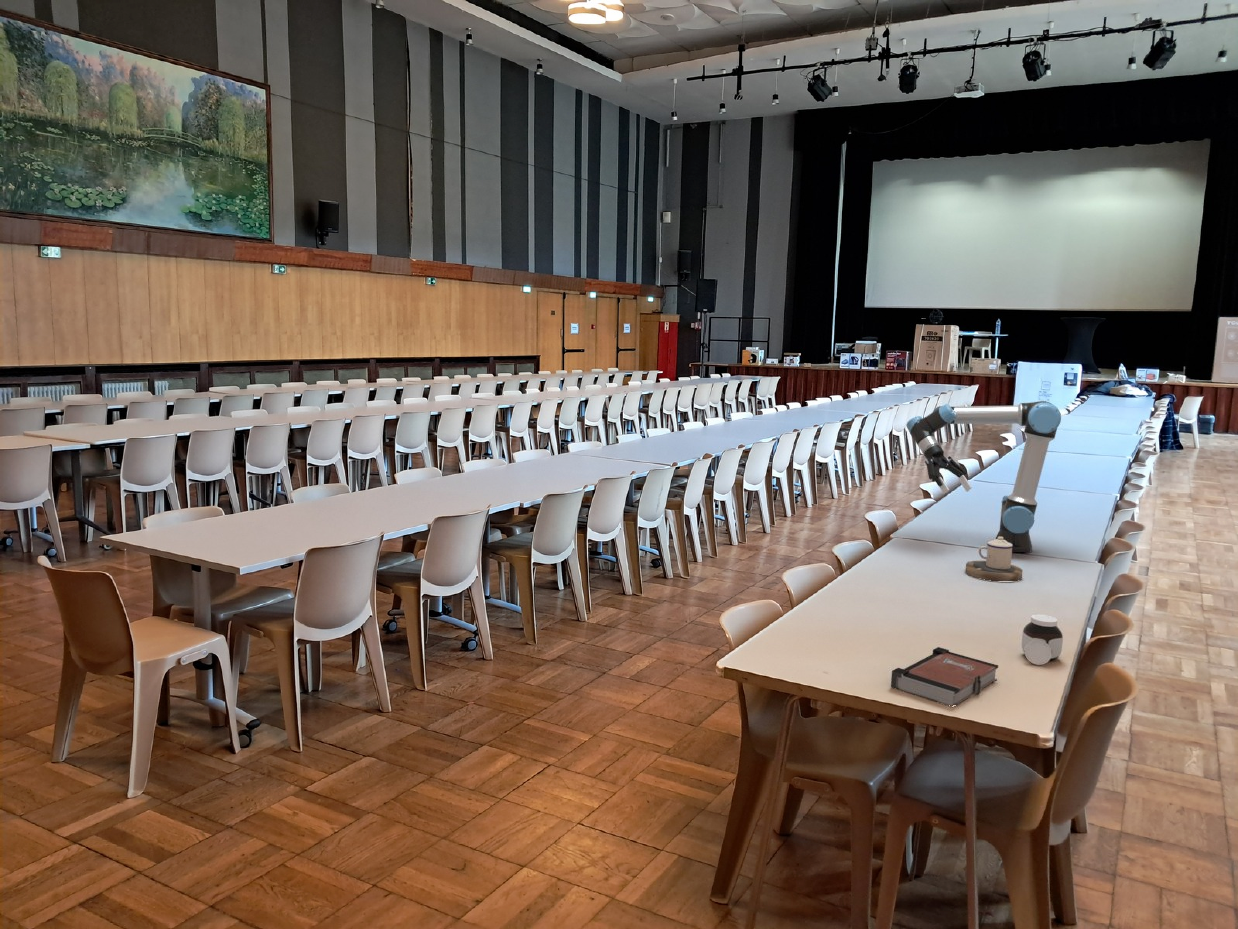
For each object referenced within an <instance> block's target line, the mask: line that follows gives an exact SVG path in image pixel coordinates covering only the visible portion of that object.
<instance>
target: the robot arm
mask: <svg viewBox="0 0 1238 929" xmlns="http://www.w3.org/2000/svg"><path fill="white" fill-rule="evenodd" d="M1061 421H1062V414H1061V411H1060V409H1059V408H1058V407H1057V406H1056V405H1055V404H1053V403H1051V402H1049V401H1047V400H1045V401H1044V400H1040V401H1039V400H1038V401H1032V402H1031V401H1030V402H1020V403H1019V404H1018V405H972V406H971V405H970V406H969V405H968V406H967V405H966V406H965V405H964V406H963V405H962V406H950V405H949V404H948V403H946V404H944V405H938V406H937V407H935V408H934V409H933V411H932V412H931V413H929V414H928V415H927V416H925V417H922V416H919V415H916V416H915V417H912V418H911V419H909V420H908V421H907V422H906V429H907V430H908V432H909V434H910V435H911V437H912V438H913V440H914V442H915V443H916V445H917V446H918V447H919V449H920V451H921V452H922V454H923V456H924V458H925V459H926V460H925V461H924V463H925V465H926V470H927V474H928V475H927V476H928V479H929V480H931V482H933V483H934V482H935V483H936V484H937V486H938V487H939V489H940V491H941V492H942V493H943V495H945V494H947V493H948V492H949V491H950V489H949V487H948V485H947V484H946V483H945V481H944V479H943V478H942V477H941V476H940V472H941V471H940V470H941V469H944V470H945V471H949V472H950V473H951V474H953V475H954V476H956V477H957V478H958V481H959V482H960V484H961V485H962V488H964V491H965V492H969V491H970V490H971V489H972V488H973V487H972V486H971V484H970V482H969V480H968V479H967V477H966V476H965V475H967V471H966V470H965V469H964V468H963V467H962V466H960V464H959V463H957V462H956V461H955V460H954V459H953V458H952V456H950V455H948V456H947V457H945V455H944V454H945V451H944V449H943V447H942V446H941V445H940V442H939V441H938V440H937V438H936V437H935V435H934V433H936V432H937V431H939V430H941V429H943V428H944V427H946V426H947V425H977V424H978V425H979V424H980V425H983V424H984V425H986V424H987V425H989V424H990V425H991V424H992V425H993V424H994V425H996V424H997V425H998V424H1000V425H1001V424H1008V425H1009V424H1013V425H1015V424H1017V425H1019V426H1020V427H1024V431H1023V433H1024V435H1025V439H1026V440H1025V443H1024V446H1023V451H1022V455H1021V458H1020V462H1019V466H1018V470H1017V474H1016V477H1015V482H1014V485H1013V489H1012V493H1011V494H1009V495H1004V496H1003V497H1002V499H1001V509H1000V510H1001V512H1000V522H999V529H998V532H997V535H996V537H995V539H998V537H1003V540H1006V541H1007V542H1008V543H1011V544H1012V545H1013V548H1012V553H1013V552H1029V553H1031V552H1030V551H1032V552H1033V544H1032V539H1031V536H1030V529H1032V527H1033V526H1034V524H1035V514H1036V511H1037V510H1036V509H1037V506H1038V501H1037V500H1036V495H1037V492H1038V486H1039V483H1040V479H1041V475H1042V471H1043V468H1044V464H1045V460H1046V456H1047V453H1048V449H1049V445H1050V443H1051V441H1053V440H1055V438H1056V434H1057V431H1058V427H1059V426H1060V425H1061V423H1062V422H1061Z"/></svg>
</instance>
